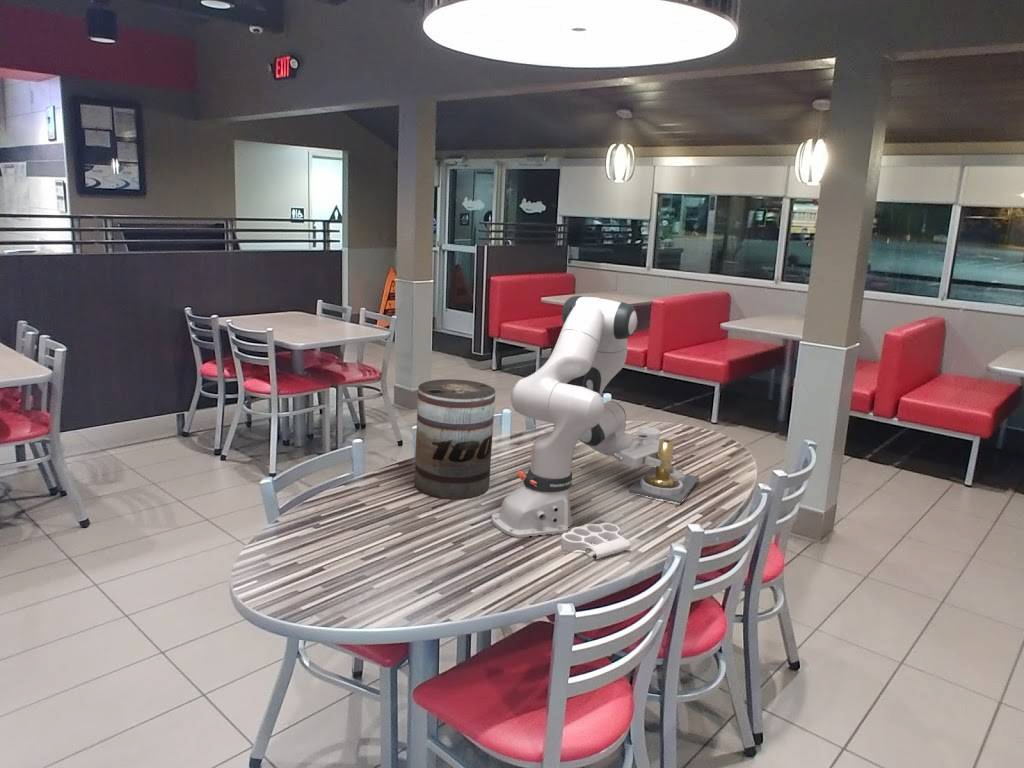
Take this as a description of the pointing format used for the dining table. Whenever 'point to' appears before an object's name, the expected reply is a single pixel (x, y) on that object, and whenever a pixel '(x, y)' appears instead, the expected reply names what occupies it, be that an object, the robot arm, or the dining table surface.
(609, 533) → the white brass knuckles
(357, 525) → the dining table surface
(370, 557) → the dining table surface
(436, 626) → the dining table surface
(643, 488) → the board
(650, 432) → the white cup
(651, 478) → the gold metal upright post
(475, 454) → the barrel
